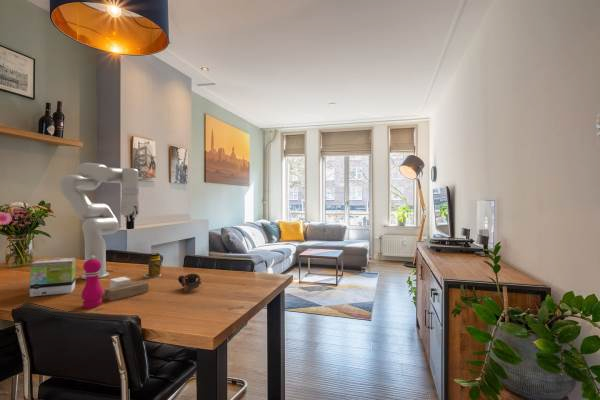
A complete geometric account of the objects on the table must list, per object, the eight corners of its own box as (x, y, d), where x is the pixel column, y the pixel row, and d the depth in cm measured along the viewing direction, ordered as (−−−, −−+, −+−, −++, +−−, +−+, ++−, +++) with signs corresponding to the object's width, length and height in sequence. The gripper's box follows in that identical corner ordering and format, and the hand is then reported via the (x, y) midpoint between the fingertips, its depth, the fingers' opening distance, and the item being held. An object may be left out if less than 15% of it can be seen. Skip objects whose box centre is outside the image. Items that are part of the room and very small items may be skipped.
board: (104, 298, 135) (104, 288, 134) (141, 289, 147) (141, 280, 147) (110, 300, 131) (110, 291, 131) (148, 291, 144) (148, 282, 144)
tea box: (29, 297, 134) (29, 263, 134) (35, 291, 143) (35, 259, 143) (72, 293, 141) (72, 260, 141) (76, 287, 150) (75, 256, 150)
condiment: (162, 275, 173) (162, 254, 173) (145, 277, 168) (145, 255, 168) (159, 273, 179) (159, 252, 179) (143, 275, 174) (143, 253, 174)
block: (110, 292, 143) (109, 279, 143) (123, 289, 148) (123, 276, 148) (117, 295, 139) (117, 281, 139) (131, 292, 144) (131, 279, 143)
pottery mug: (205, 287, 154) (205, 274, 150) (194, 301, 146) (194, 288, 142) (183, 279, 155) (182, 267, 151) (171, 293, 147) (170, 280, 143)
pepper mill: (88, 302, 129) (88, 253, 129) (106, 302, 130) (106, 253, 129) (77, 308, 122) (77, 257, 121) (96, 308, 122) (96, 257, 122)
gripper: (115, 192, 161) (115, 228, 161) (129, 192, 152) (129, 230, 152) (130, 192, 167) (130, 227, 167) (145, 192, 158) (145, 229, 158)
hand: (130, 228), depth 159 cm, fingers closed
